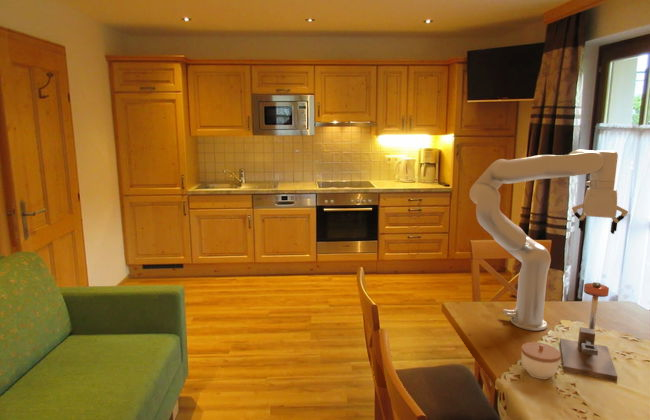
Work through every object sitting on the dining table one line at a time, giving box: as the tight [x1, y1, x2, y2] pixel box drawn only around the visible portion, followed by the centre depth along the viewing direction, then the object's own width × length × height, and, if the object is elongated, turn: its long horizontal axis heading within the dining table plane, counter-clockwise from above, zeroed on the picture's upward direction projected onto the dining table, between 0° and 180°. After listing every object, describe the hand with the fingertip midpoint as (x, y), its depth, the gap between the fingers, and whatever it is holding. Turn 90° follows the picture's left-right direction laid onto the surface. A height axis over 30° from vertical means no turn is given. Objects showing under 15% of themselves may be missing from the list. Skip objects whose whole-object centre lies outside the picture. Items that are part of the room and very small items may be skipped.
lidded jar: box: [520, 341, 562, 380], centre depth 135 cm, size 11×11×9 cm
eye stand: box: [559, 326, 619, 382], centre depth 143 cm, size 14×20×8 cm
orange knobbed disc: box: [583, 281, 610, 330], centre depth 136 cm, size 6×6×14 cm
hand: (596, 231), depth 162 cm, fingers open, 9 cm apart
